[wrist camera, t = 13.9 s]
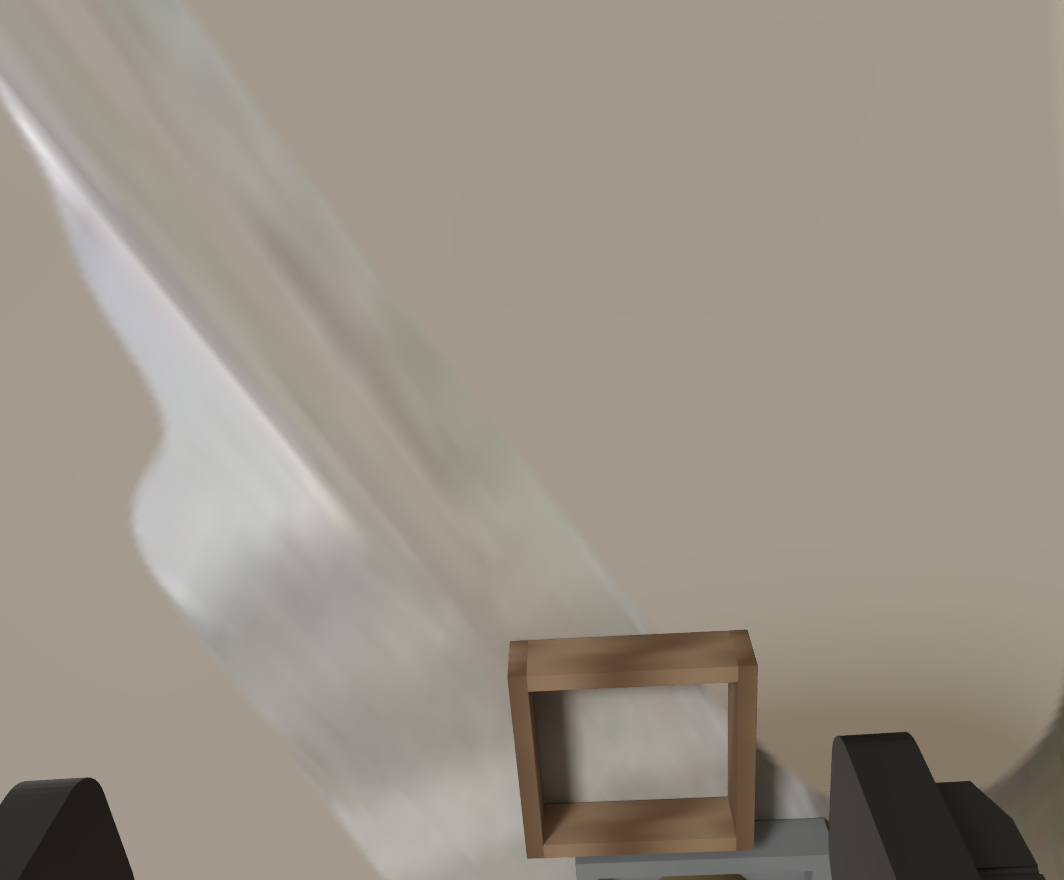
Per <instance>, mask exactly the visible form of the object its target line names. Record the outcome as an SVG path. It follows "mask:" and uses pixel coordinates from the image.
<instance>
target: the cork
mask: <svg viewBox="0 0 1064 880" xmlns="http://www.w3.org/2000/svg"><path fill="white" fill-rule="evenodd" d="M659 880H748V879H746V878H745V877H743V876H742V875H740V874H719V875H691V876H663V877H661V878H660V879H659Z"/></svg>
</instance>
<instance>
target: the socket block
mask: <svg viewBox="0 0 1064 880" xmlns="http://www.w3.org/2000/svg"><path fill="white" fill-rule="evenodd" d="M757 672H758V665H757V662H756V658H755V655H754V652H753V648H752V645H751V641H750V637H749V634H748V631H747V630H734V631H712V632H692V633H671V634H651V635H631V636H611V637H590V638H570V639H550V640H530V641H510V650H509V664H508V687H509V696H510V705H511V714H512V723H513V733H514V742H515V751H516V760H517V769H518V779H519V788H520V797H521V806H522V815H523V824H524V834H525V843H526V852H527V859H529V858H556V857H583V856H610V855H637V854H663V853H690V852H717V851H744V850H754V817H755V769H756V720H757V674H758V673H757ZM727 682H728V684H729V685H728V696H729V697H728V797H712V798H688V799H663V800H638V801H613V802H588V803H563V804H544V800H543V790H542V779H541V769H540V758H539V748H538V738H537V727H536V717H535V706H534V696H533V692H534V691H555V690H577V689H598V688H620V687H641V686H663V685H684V684H706V683H727Z"/></svg>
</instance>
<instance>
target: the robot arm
mask: <svg viewBox="0 0 1064 880" xmlns="http://www.w3.org/2000/svg"><path fill="white" fill-rule="evenodd" d="M828 847H829V861H830V869H831V876H832V880H1046V879H1045V878H1044V876H1043V874H1039V871H1038V865H1037V863H1036V861H1035V859H1034V858H1033V856H1032V854H1031V852H1030V850H1029V848H1028V847H1027V845H1026V843H1025V841H1024V839H1023V837H1022V836H1021V834H1020V832H1019V830H1018V828H1017V827H1016V825H1015V823H1014V821H1013V819H1012V818H1011V817H1010V816H1008V815H1007V814H1006V813H1005V812H1004V811H1003V810H1002V809H1001V808H1000V807H998V806H997V805H996V804H995V803H994V802H993V801H992V800H991V799H990V798H988V797H987V796H986V795H985V794H984V793H983V792H982V791H981V790H979V789H978V788H977V787H976V786H975V785H974V784H973V783H972V782H971V781H963V782H962V781H961V782H944V783H935V781H934V779H933V777H932V775H931V773H930V771H929V768H928V766H927V764H926V762H925V760H924V758H923V756H922V754H921V752H920V750H919V748H918V745H917V743H916V742H915V740H914V738H913V737H912V736H911V735H910V734H909V733H908V732H896V733H880V734H863V735H845V736H836V737H835V738H834V741H833V747H832V764H831V788H830V813H829V837H828ZM0 880H134V876H133V872H132V869H131V867H130V864H129V861H128V858H127V856H126V853H125V850H124V847H123V845H122V842H121V839H120V836H119V833H118V830H117V828H116V825H115V822H114V819H113V817H112V814H111V811H110V808H109V805H108V803H107V800H106V797H105V794H104V792H103V790H102V787H101V786H100V784H99V783H98V782H97V781H96V780H95V779H93V778H71V779H55V780H38V781H24V782H21V783H19V784H17V785H15V786H14V787H13V788H12V789H11V790H10V792H9V793H8V794H7V796H6V797H5V798H4V800H3V801H2V803H1V804H0Z"/></svg>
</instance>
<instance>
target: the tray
mask: <svg viewBox="0 0 1064 880" xmlns="http://www.w3.org/2000/svg"><path fill="white" fill-rule="evenodd" d="M828 837H829V833H828V829H827V826H826V823H825V820H824V818H815V819H789V820H763V821H754V850H744V851H717V852H690V853H663V854H637V855H610V856H583V857H575V859H576V875H577V880H659V879H660V878H661V877H663V876H691V875H719V874H740V875H742V876H743V877H745V878H746V879H748V880H832V876H831V869H830V861H829V847H828Z"/></svg>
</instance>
